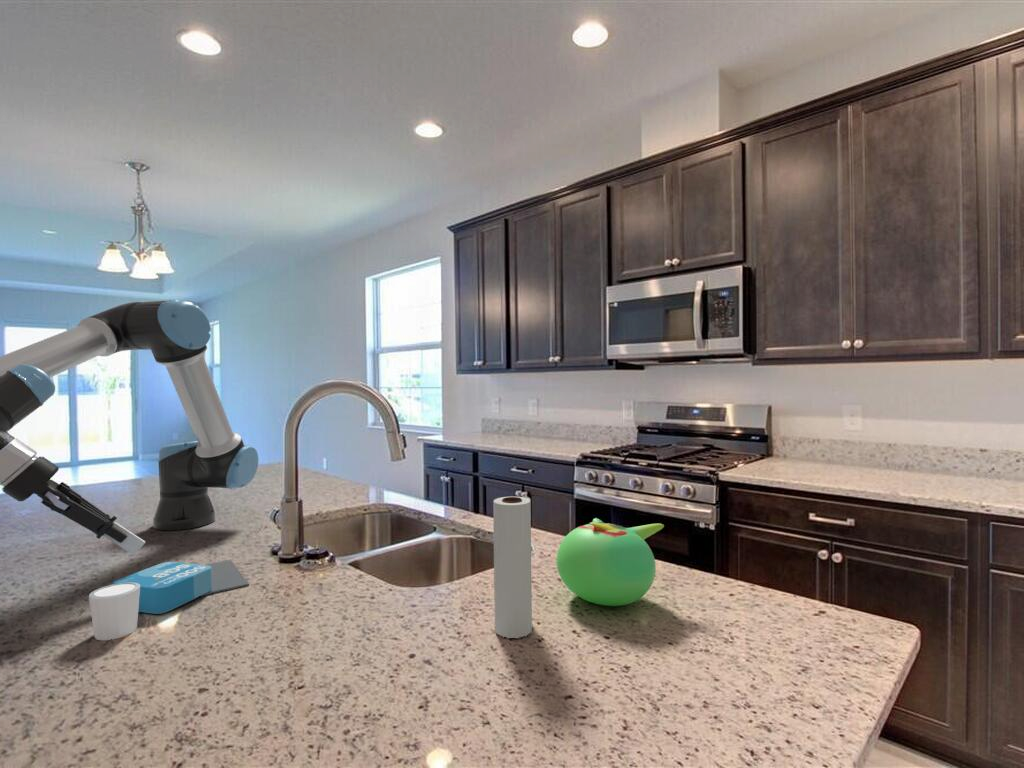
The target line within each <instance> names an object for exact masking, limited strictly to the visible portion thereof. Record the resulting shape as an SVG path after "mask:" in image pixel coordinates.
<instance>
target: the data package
mask: <svg viewBox="0 0 1024 768" xmlns="http://www.w3.org/2000/svg"><path fill="white" fill-rule="evenodd" d="M129 582H132V583H138V584H140V596H139V608H138V613H148V614H153V615H158V614H159V615H161V614H164V613H167V612H170V611H172V610H174V609H177V608H179V607H181V606H182V605H185V604H187V603H189V602H191V601H193V600H195V599H197V598H200V597H199V596H201V595H203V594H205V593H208V592H210V591H211V590H212V567H211V566H208V565H206V564H198V563H187V562H178V561H164V562H161V563H159V564H156V565H153V566H150V567H148V568H145V569H142V570H139V571H137V572H135V573H132V574H130V575H127V576H124V577H121V578H118V579H116V580H114V581H112V585H113V584H119V583H129ZM201 597H202V596H201Z"/></svg>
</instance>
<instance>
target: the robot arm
mask: <svg viewBox="0 0 1024 768" xmlns="http://www.w3.org/2000/svg"><path fill="white" fill-rule="evenodd" d="M211 329H212V327H211V324H210V320H209V318H208V316H207V315H206V313H205V311H204V310H203V309H202V308H200V307H199V306H198V305H197V304H194V303H192V302H190V301H186V300H177V299H176V300H175V299H172V300H171V299H169V300H161V301H160V300H158V301H156V300H155V301H133V302H129V303H124V304H120V305H117V306H114V307H111V308H107V310H104V311H101V312H98V313H96V314H93V315H90V316H88V317H85V318H84V319H81V320H80V321H79V322H78V324H77V326H75V327H73V328H70V329H67V330H65V331H63V332H60V333H58V334H55V335H53V336H49V337H47V338H44V339H42V340H39V341H37V342H34V343H31V344H29V345H27V346H24V347H22V348H18V349H16V350H14V351H11V352H9V353H6V354H4V355H0V486H3V487H2V488H1V490H2V492H3V493H4V494H6V495H7V496H9V497H11V498H12V499H14V500H15V501H17V502H24V501H26V500H27V499H29V498H30V497H31V496H32V495H34V494H35V495H37V497H39V498H40V499H41V500H42V501H40V503H41V504H43V505H44V506H45V507H47V508H49V509H50V510H51V511H52V512H56V513H58V514H60V515H62V516H64V517H66V518H67V519H69V520H70V521H73V522H74V523H77V524H78V525H80V526H82V527H83V528H85V529H87V530H89V531H90V532H92V533H94V535H96V538H97V539H99V540H100V539H101V538H102V537H104V538H106V539H107V540H109V541H111V542H112V543H114V544H116V545H117V546H119V547H120V548H122V549H124V550H125V551H127V552H128V553H130V554H132V555H133V556H134V555H135V554H137V552H138V551H139V550H140V549H141V548H142V547H143V546H144V545H145V544H146V540H144V539H142V538H141V537H139V536H137V535H136V534H135V533H134V532H131V531H130V530H129V529H127V528H125V527H124V526H122V525H121V524H119V523H118V522H116V520H117V519H118V517H117V516H115V515H113V516H112V517H111V516H110V515H109V514H108V513H107V514H106V513H105V512H104V511H102V510H101V509H99V508H98V507H97V506H96V505H94V504H93V503H91V502H90V501H88V499H85V498H84V497H82V495H80V494H79V493H77V492H76V491H74V490H73V489H72V488H70V487H71V486H69V485H68V484H67V483H66V482H63V481H61V482H60V483H58V482H56V481H55V480H53V479H52V478H53V477H54V476H55V475H56V473H57V472H58V471H59V466H58V465H56V464H55V463H54V462H52V461H50V460H49V459H47V458H46V457H45V456H39V457H38V456H37V454H38V453H37V451H36V450H34V449H33V448H32V447H30V446H28V445H27V444H25V443H24V442H23V441H21V440H19V439H18V438H16V437H14V436H13V435H11V434H10V433H9V432H8V431H11V429H13V428H14V427H15V426H16V425H17V424H19V423H21V422H22V421H23V420H24V419H25V418H27V417H28V416H30V414H32V413H34V412H35V411H36V410H37V409H38V408H40V407H42V406H43V405H44V404H45V402H47V401H48V400H49V399H50V398H51V397H52V396H54V394H55V392H56V385H55V383H54V381H53V380H52V378H53V377H55V376H57V375H59V374H61V373H64V372H66V371H68V370H70V369H72V368H75V367H76V366H78V365H81V364H84V363H86V362H87V361H89V360H92V359H95V358H96V357H109V356H112V355H114V354H115V353H119V352H125V351H136V350H137V351H138V350H141V351H142V350H144V351H145V350H150V351H151V353H152V356H153V357H154V360H155V362H156V364H160V365H162V366H165V368H166V370H167V372H168V375H169V377H170V379H171V382H172V384H173V387H174V388H175V392H176V394H177V396H178V398H179V399H178V400H180V403H181V405H182V407H183V411H184V413H185V414H186V417H187V420H188V422H189V424H190V427H191V428H192V431H193V433H194V434H193V435H194V437H195V439H196V440H192V441H185V442H178V443H173V444H168V445H167V444H166V445H164V446H162V447H161V448H160V449H159V451H158V452H159V453H158V455H159V456H158V461H157V463H158V480H159V483H158V484H159V500H158V501H159V502H158V503H157V507H156V510H155V513H154V517H153V518H152V519H153V520H152V529H154V530H158V531H180V530H188V529H189V530H190V529H193V528H198V527H203V526H206V525H209V524H211V523H213V522H214V521H216V511H215V509H214V507H213V503H212V501H211V499H210V496H209V493H208V491H209V490H208V488H211V489H212V488H214V489H215V488H216V489H229V490H232V489H239V488H240V489H241V488H244V487H247V486H248V485H249V484H250V483H251V482H252V481H253V479H254V478H255V476H256V473H257V471H258V466H259V454H258V451H257V449H256V448H255V447H254V446H251V445H245V443H244V441H243V439H242V436H241V435H240V434H239V433H237V432H234V431H233V429H232V427H231V424H230V422H229V420H228V416H227V414H226V412H225V409H224V406H223V404H222V401H221V398H220V396H219V394H218V391H217V388H216V385H215V383H214V380H213V378H212V375H211V373H210V370H209V367H208V365H207V361H206V359H205V356H204V354H205V353H206V351H207V350H208V346H207V344H208V343H209V342H210V338H211V334H210V332H211V331H212V330H211Z"/></svg>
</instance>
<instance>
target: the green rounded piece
mask: <svg viewBox="0 0 1024 768" xmlns="http://www.w3.org/2000/svg"><path fill="white" fill-rule="evenodd" d="M664 527H665V525H664V523H663V524H662V523H650V524H645V525H643V524H642V525H638V526H632V527H624V526H622V525H618V524H615V523H614V524H613V523H609V522H608V523H606V522H603V520H601V519H599V518H597V517H595V518H593V519H592V521H591V522H589V523H587V524H583V525H580V526H578V527H575V528H574V529H573V530H571V531H569V533H567V534H566V535H565V536H564V538H563V539H562V540H561V542H560V544H559V546H558V549H557V554H556V565H557V571H558V575H559V577H560V579H561V580H562V582H563V584H564V585H565V586H566V587H567V589H569V590H570V592H572V593H573V594H575V596H577V597H579V598H581V599H582V600H584V601H587V602H590V603H591V604H595V605H599V606H606V607H619V606H625V605H629V604H632V603H634V602H637V601H638V600H640V599H641V598H643V596H645V595H646V593H647V592H649V590H650V588H651V587H652V585H653V583H654V580H655V576H656V566H657V565H656V560H655V555H654V553H653V551H652V549H651V548H650V546H649V544H648V542H646V541H645V540H646V539H647V538H649V537H651V536H652V535H655V534H656V533H657V532H660V531H661V530H662V529H663V528H664Z"/></svg>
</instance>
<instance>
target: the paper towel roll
mask: <svg viewBox="0 0 1024 768" xmlns="http://www.w3.org/2000/svg"><path fill="white" fill-rule="evenodd" d="M531 503H532V502H531V498H530V497H528V496H527V494H526V493H525V494H524V496H502V497H497V498H495V499H493V503H492V504H493V506H492V507H493V514H492V515H493V574H494V575H493V583H494V584H493V585H494V589H493V590H494V591H493V592H494V597H493V598H494V600H493V601H494V631H495V634H496V635H498V634H499V635H501V636H503V637H502V638H504V637H507V638H506V639H509V638H516V637H517V639H519V638H518V637H523V636H525V637H527V636H526V635H528V634H529V633H530V634H531V633H532V631H533V630H532V629H533V617H532V616H533V609H532V608H533V601H532V598H533V596H532V525H531V524H532V523H531V522H532V521H531V520H532V518H531V517H532V514H531V511H532V510H531V507H532V506H531ZM530 634H529V635H530ZM499 635H498V636H499ZM529 635H528V636H529ZM501 636H500V637H501ZM523 638H524V637H523Z"/></svg>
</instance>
